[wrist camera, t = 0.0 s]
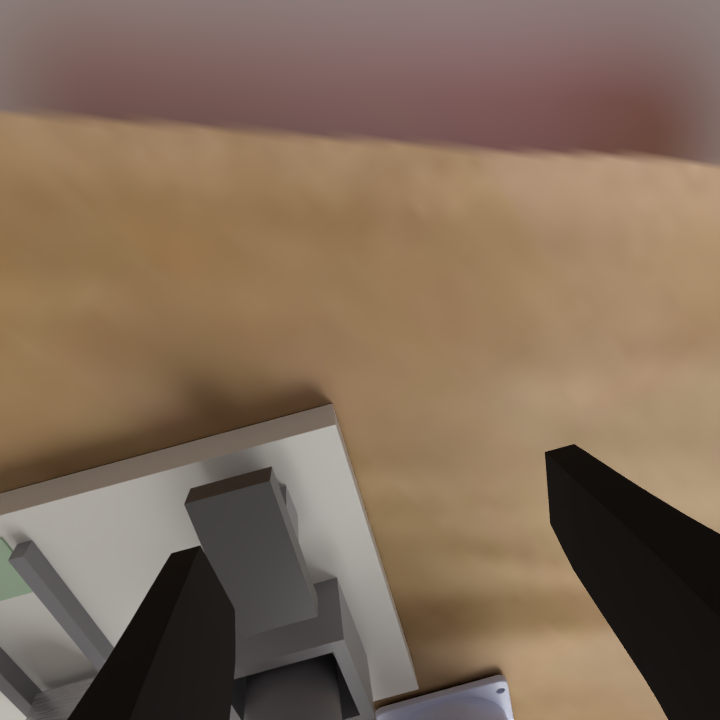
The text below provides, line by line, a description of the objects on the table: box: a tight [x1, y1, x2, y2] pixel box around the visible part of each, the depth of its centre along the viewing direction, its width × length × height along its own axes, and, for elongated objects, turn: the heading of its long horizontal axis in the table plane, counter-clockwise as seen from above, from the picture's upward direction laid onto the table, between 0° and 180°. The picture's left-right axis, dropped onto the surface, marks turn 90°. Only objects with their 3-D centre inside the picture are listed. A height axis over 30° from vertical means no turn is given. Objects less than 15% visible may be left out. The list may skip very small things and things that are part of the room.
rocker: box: [184, 466, 318, 638], centre depth 19 cm, size 6×3×1 cm, turn 13°
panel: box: [0, 404, 419, 720], centre depth 23 cm, size 18×20×4 cm
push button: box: [244, 653, 342, 720], centre depth 22 cm, size 4×4×4 cm
